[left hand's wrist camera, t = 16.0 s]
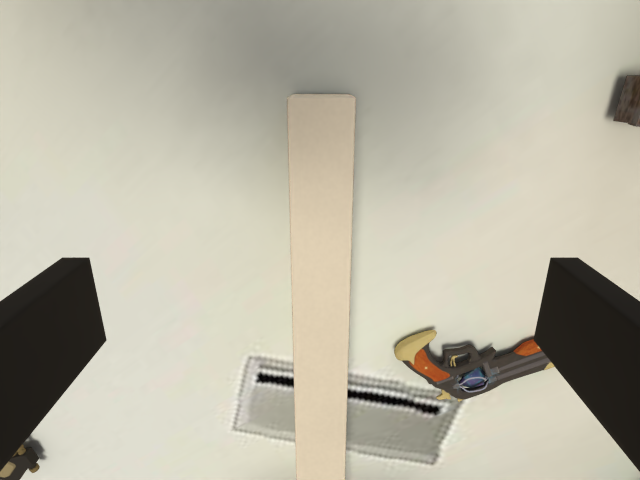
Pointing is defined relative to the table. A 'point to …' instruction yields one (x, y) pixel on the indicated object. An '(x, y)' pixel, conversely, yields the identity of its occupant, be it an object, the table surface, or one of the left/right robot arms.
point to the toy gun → (469, 365)
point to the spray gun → (20, 464)
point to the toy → (629, 102)
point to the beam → (321, 275)
